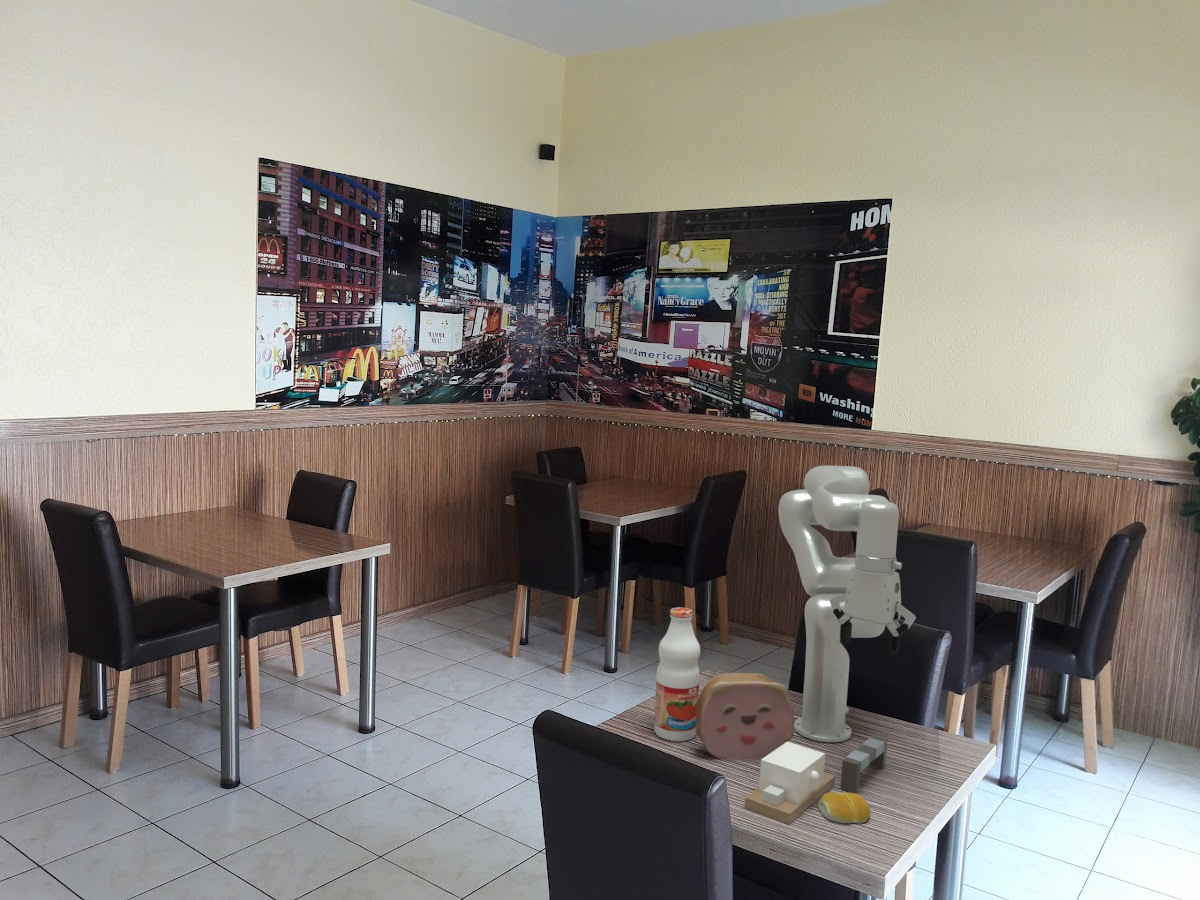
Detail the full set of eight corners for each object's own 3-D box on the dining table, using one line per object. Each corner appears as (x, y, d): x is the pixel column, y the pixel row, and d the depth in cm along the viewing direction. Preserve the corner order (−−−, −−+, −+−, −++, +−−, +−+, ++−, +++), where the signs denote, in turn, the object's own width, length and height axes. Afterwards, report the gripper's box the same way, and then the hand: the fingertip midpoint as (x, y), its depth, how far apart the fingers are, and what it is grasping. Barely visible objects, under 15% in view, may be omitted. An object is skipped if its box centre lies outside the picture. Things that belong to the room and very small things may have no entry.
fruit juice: (677, 722, 211) (684, 602, 208) (705, 737, 204) (712, 612, 201) (645, 730, 206) (651, 607, 203) (671, 746, 198) (678, 618, 195)
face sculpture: (698, 761, 191) (702, 683, 190) (691, 747, 198) (695, 671, 196) (792, 760, 194) (797, 683, 192) (782, 746, 200) (787, 671, 199)
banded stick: (871, 762, 194) (873, 735, 194) (885, 767, 192) (887, 739, 192) (840, 789, 182) (842, 759, 181) (855, 794, 180) (857, 764, 179)
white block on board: (792, 771, 188) (795, 734, 187) (838, 787, 182) (841, 748, 182) (744, 807, 172) (747, 766, 172) (792, 825, 167) (795, 783, 166)
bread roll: (877, 824, 169) (878, 803, 169) (831, 827, 167) (832, 806, 167) (856, 802, 177) (858, 782, 177) (812, 804, 175) (813, 784, 175)
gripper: (925, 568, 180) (918, 654, 181) (841, 554, 191) (836, 635, 192) (910, 574, 174) (904, 663, 176) (825, 559, 185) (820, 642, 187)
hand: (868, 648), depth 184 cm, fingers open, 9 cm apart
